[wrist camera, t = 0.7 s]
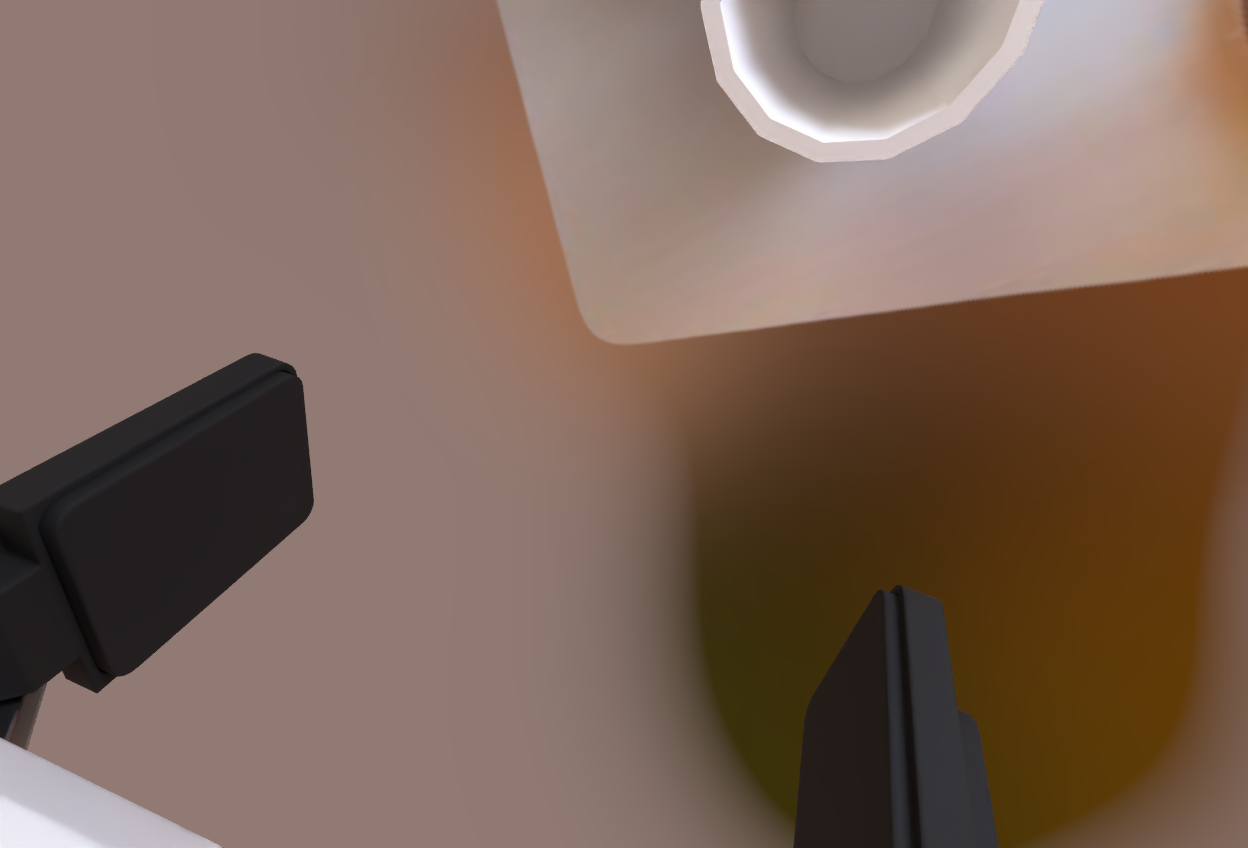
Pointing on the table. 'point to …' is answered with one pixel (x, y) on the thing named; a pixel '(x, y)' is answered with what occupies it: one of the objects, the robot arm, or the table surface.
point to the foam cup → (862, 68)
